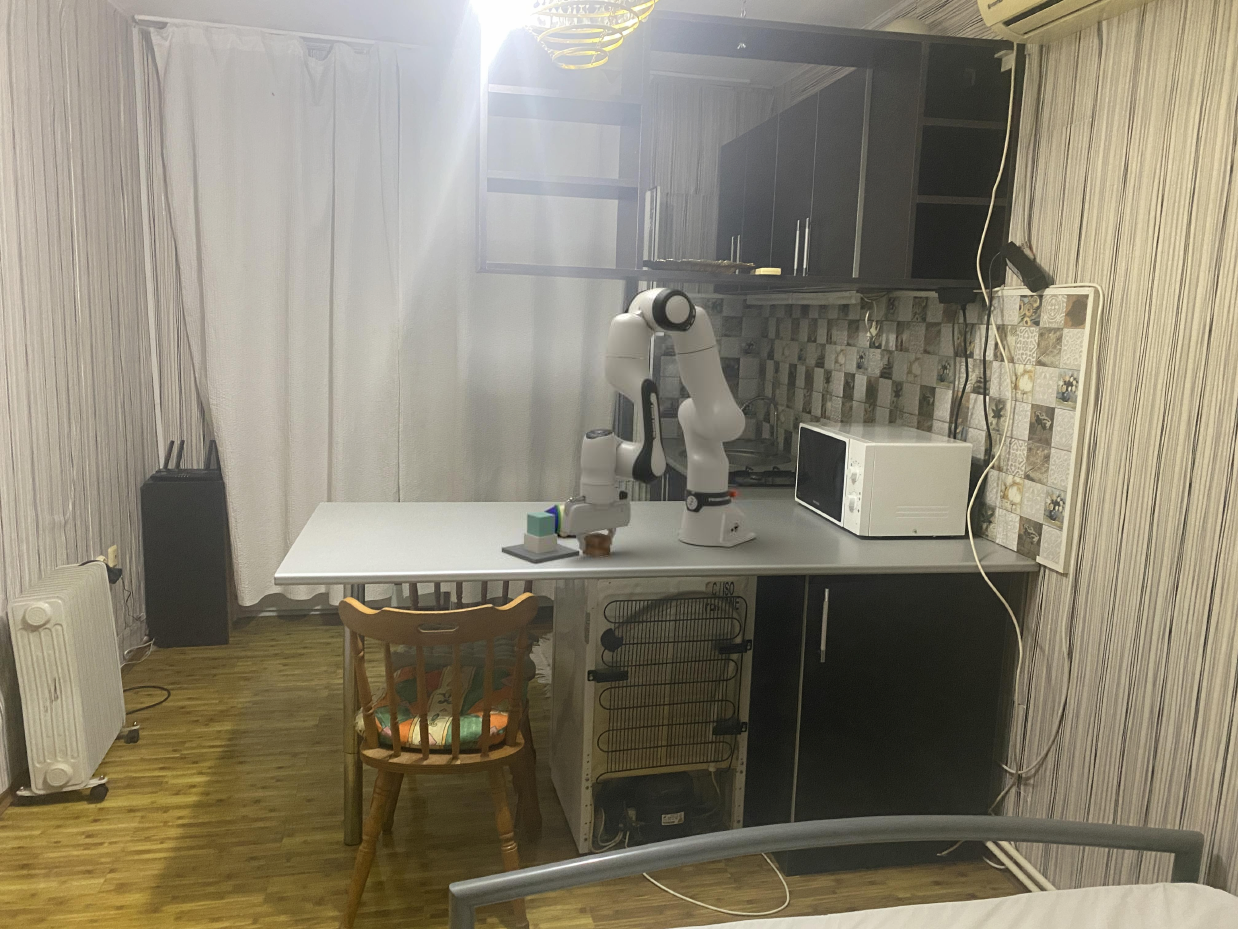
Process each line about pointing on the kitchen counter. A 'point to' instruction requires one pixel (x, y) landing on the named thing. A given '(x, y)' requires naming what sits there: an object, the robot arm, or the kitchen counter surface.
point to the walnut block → (597, 544)
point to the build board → (540, 556)
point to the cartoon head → (557, 518)
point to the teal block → (541, 524)
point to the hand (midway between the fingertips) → (595, 547)
